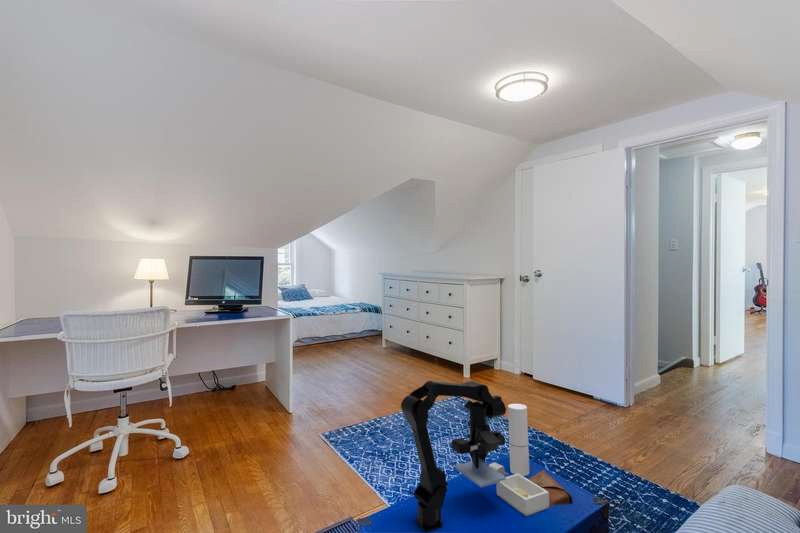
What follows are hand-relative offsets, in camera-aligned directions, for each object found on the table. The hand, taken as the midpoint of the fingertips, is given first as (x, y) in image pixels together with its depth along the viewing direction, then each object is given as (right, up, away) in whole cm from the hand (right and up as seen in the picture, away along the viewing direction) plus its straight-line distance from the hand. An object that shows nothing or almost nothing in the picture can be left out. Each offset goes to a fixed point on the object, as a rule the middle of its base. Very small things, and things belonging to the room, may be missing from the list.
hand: (479, 467), depth 128 cm
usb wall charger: (+11, -13, +17) cm, 24 cm away
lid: (0, -3, 0) cm, 3 cm away
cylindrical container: (+20, -13, +21) cm, 32 cm away
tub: (+15, -12, +1) cm, 19 cm away
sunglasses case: (+26, -12, +7) cm, 29 cm away
